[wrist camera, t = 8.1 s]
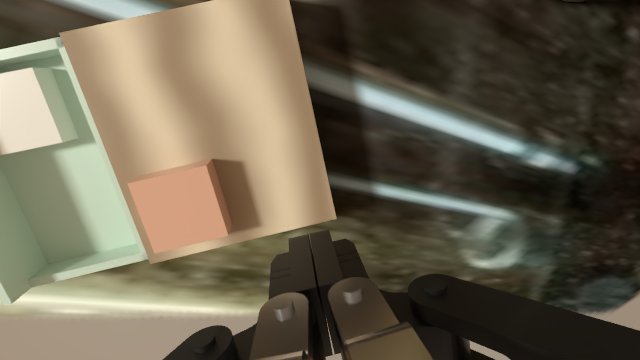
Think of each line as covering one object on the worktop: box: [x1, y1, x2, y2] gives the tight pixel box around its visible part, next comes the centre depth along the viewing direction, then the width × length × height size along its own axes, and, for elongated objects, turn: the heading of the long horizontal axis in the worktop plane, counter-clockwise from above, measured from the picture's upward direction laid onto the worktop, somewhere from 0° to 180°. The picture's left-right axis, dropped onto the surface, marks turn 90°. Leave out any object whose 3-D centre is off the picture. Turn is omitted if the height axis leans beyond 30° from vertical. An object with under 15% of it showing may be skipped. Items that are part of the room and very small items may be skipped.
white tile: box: [0, 67, 79, 155], centre depth 24 cm, size 5×5×2 cm
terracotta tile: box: [128, 159, 232, 254], centre depth 24 cm, size 5×5×2 cm
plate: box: [59, 0, 336, 264], centre depth 26 cm, size 14×16×4 cm
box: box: [0, 37, 148, 306], centre depth 25 cm, size 10×16×5 cm, turn 12°
